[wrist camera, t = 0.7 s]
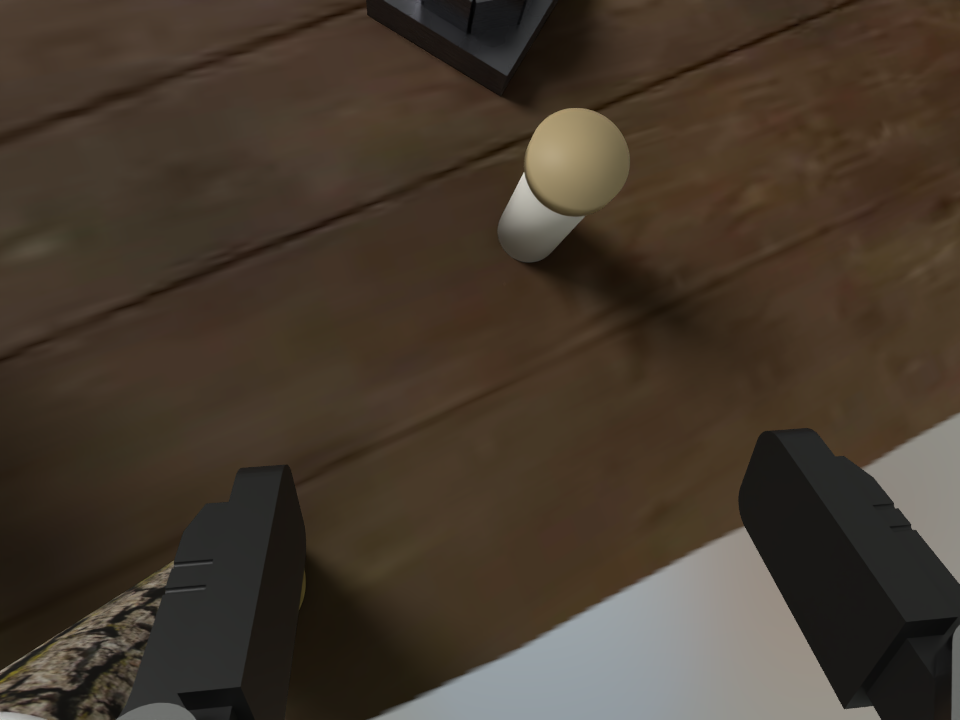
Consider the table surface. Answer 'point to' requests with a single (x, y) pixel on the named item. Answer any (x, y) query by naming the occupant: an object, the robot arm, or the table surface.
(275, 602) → the robot arm
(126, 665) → the paper tube
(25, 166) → the table surface
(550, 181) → the white beige cylinder
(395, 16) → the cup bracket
